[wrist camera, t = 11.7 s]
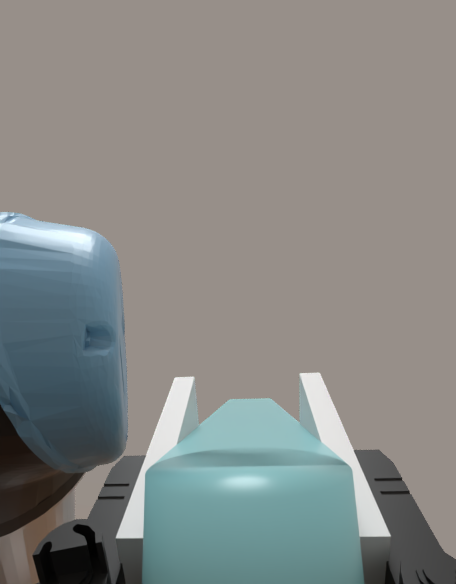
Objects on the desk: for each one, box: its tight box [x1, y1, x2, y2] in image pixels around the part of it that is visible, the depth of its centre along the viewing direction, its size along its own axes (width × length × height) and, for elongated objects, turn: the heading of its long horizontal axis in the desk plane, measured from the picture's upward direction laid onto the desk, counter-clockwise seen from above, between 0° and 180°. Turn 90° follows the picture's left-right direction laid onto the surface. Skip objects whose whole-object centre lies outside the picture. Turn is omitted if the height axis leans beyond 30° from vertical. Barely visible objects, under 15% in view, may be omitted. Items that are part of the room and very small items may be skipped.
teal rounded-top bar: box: [142, 398, 364, 584], centre depth 20 cm, size 33×4×4 cm, turn 176°
